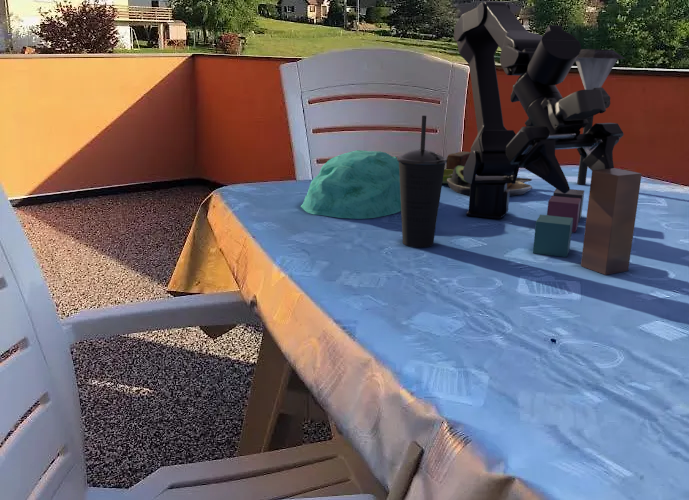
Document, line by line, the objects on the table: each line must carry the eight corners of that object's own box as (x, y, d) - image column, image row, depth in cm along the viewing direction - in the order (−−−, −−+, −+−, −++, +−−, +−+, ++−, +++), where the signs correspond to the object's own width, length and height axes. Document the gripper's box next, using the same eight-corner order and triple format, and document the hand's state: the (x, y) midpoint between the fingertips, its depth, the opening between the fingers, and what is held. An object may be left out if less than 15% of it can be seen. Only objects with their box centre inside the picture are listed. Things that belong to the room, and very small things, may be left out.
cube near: (532, 253, 108) (535, 221, 107) (537, 245, 113) (540, 214, 111) (566, 257, 106) (570, 225, 105) (569, 248, 111) (573, 217, 110)
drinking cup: (410, 252, 107) (416, 119, 102) (384, 240, 114) (389, 114, 108) (451, 246, 111) (460, 117, 105) (424, 235, 117) (430, 112, 112)
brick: (460, 175, 172) (461, 156, 170) (445, 173, 174) (446, 154, 172) (476, 169, 180) (477, 151, 179) (461, 168, 182) (462, 149, 181)
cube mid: (545, 229, 123) (548, 201, 121) (548, 223, 127) (551, 195, 126) (575, 232, 121) (578, 204, 119) (577, 226, 125) (581, 198, 124)
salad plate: (514, 180, 167) (516, 160, 165) (552, 196, 150) (554, 174, 149) (437, 182, 162) (438, 162, 161) (467, 198, 146) (468, 176, 144)
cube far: (550, 219, 130) (553, 192, 128) (553, 213, 134) (556, 187, 133) (579, 222, 128) (582, 195, 126) (581, 216, 132) (584, 190, 131)
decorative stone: (432, 195, 148) (435, 148, 145) (379, 223, 124) (381, 166, 121) (344, 185, 157) (345, 140, 154) (278, 209, 133) (278, 156, 130)
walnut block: (605, 275, 98) (618, 175, 94) (580, 266, 102) (591, 170, 98) (628, 270, 101) (642, 173, 97) (603, 262, 104) (615, 168, 100)
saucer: (429, 183, 159) (430, 174, 159) (431, 177, 168) (431, 168, 167) (468, 185, 158) (469, 176, 158) (468, 179, 166) (469, 170, 166)
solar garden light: (611, 182, 167) (628, 50, 159) (607, 191, 156) (624, 50, 148) (557, 177, 172) (571, 49, 163) (550, 185, 161) (564, 48, 153)
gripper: (526, 67, 97) (577, 159, 91) (621, 68, 106) (674, 151, 100) (485, 120, 106) (529, 206, 100) (576, 116, 115) (622, 196, 109)
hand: (590, 189), depth 102 cm, fingers open, 9 cm apart
